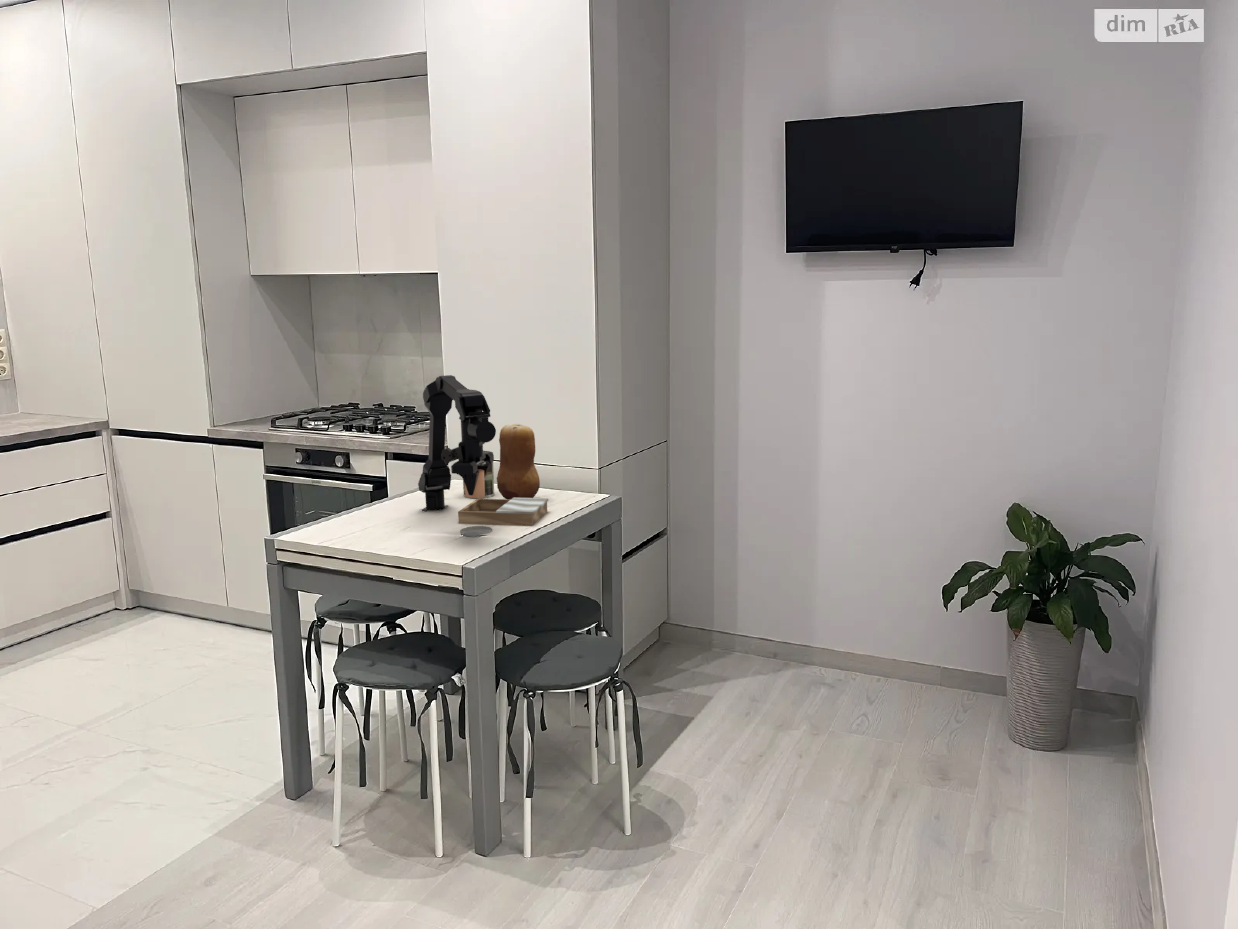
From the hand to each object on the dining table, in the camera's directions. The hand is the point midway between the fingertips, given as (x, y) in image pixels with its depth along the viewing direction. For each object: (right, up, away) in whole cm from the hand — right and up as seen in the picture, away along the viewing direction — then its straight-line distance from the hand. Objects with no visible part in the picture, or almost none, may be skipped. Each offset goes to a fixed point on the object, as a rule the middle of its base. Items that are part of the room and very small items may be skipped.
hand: (474, 492), depth 264 cm
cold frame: (+6, -8, +17) cm, 20 cm away
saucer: (0, -11, +2) cm, 12 cm away
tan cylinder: (0, -1, 0) cm, 1 cm away
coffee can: (-6, -2, +49) cm, 50 cm away
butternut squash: (+8, -4, +39) cm, 40 cm away
